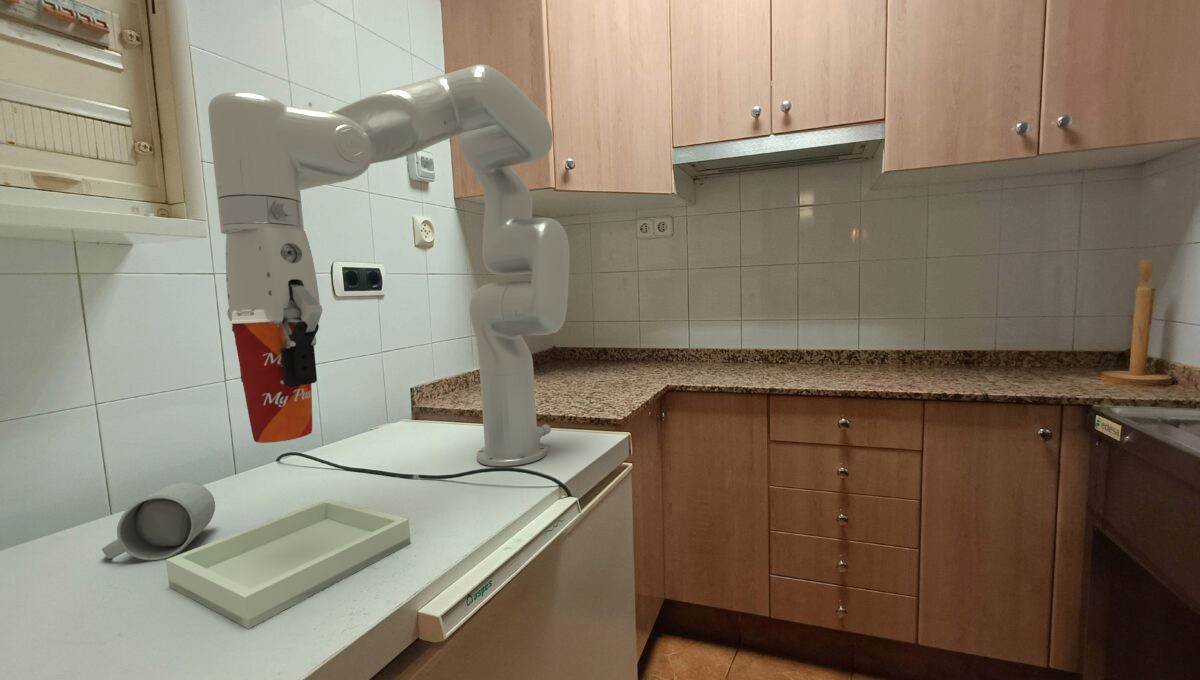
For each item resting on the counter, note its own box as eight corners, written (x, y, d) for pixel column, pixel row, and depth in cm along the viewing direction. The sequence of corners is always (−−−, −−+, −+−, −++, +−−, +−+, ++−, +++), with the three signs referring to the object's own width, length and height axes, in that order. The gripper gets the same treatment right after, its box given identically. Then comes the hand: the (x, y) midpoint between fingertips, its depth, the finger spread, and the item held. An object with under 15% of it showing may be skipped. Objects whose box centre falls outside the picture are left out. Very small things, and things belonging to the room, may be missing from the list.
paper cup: (286, 446, 53) (272, 308, 52) (223, 445, 55) (208, 311, 54) (339, 426, 61) (327, 306, 60) (282, 426, 63) (270, 309, 61)
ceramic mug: (222, 526, 71) (215, 471, 70) (198, 553, 63) (189, 491, 62) (125, 543, 67) (116, 485, 67) (87, 574, 60) (77, 508, 59)
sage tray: (330, 520, 71) (328, 498, 71) (410, 543, 63) (408, 519, 63) (169, 586, 56) (165, 559, 55) (248, 629, 47) (245, 597, 47)
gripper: (345, 213, 55) (359, 380, 56) (256, 231, 64) (271, 375, 65) (270, 204, 48) (288, 393, 50) (183, 225, 57) (201, 385, 59)
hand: (278, 382), depth 57 cm, fingers closed on paper cup, 7 cm apart
